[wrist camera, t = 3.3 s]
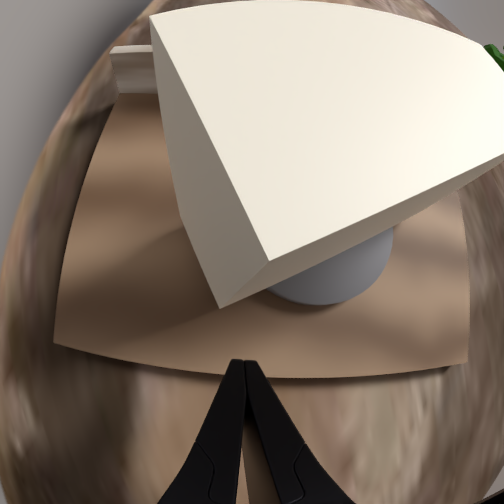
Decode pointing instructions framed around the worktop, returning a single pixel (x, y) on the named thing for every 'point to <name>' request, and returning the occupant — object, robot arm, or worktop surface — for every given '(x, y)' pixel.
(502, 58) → the bell pepper
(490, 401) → the worktop surface
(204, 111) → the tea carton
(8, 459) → the worktop surface
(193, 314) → the shelf board
